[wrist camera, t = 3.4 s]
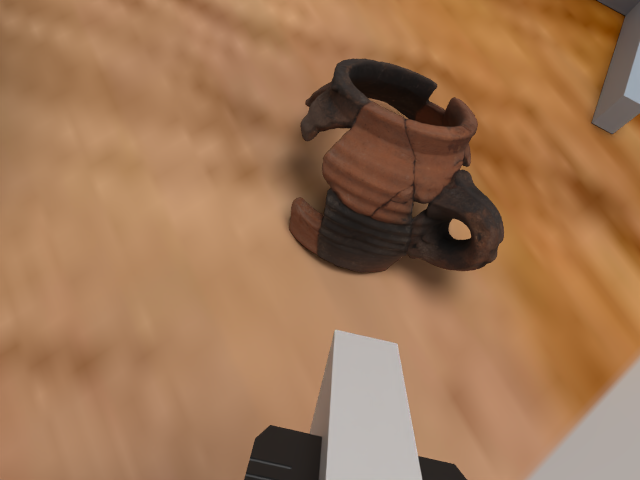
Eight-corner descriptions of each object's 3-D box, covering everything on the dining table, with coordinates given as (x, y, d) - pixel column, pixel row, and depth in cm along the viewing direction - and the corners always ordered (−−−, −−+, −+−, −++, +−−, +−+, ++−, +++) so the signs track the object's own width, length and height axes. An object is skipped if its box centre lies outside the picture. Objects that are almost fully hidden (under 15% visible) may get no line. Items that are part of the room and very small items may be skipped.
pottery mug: (233, 206, 31) (277, 58, 26) (335, 162, 38) (385, 39, 33) (421, 354, 27) (513, 212, 22) (496, 274, 34) (579, 153, 29)
